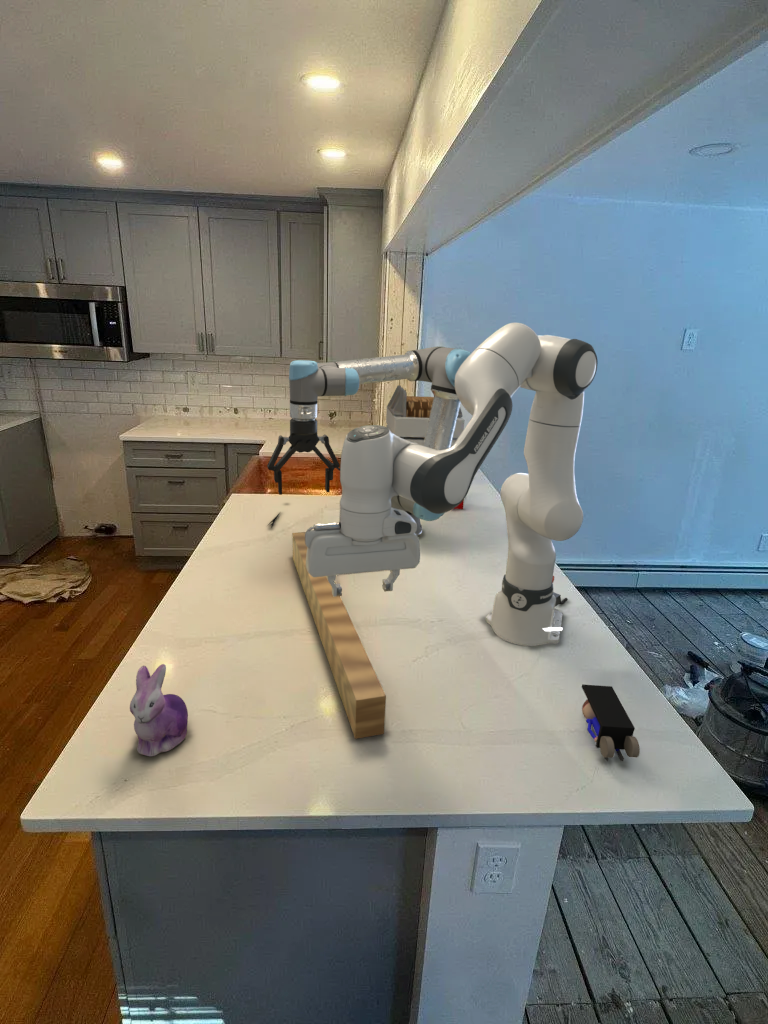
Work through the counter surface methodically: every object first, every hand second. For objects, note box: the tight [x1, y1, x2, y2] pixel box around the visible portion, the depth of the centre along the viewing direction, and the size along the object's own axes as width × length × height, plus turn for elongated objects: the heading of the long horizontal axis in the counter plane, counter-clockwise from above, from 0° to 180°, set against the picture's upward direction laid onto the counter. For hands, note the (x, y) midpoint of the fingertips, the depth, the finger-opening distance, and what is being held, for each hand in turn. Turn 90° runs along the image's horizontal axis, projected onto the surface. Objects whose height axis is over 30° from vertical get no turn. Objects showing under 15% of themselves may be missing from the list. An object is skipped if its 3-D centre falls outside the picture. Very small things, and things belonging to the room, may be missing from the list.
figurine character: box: [581, 684, 641, 762], centre depth 105 cm, size 7×8×15 cm
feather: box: [266, 512, 281, 529], centre depth 211 cm, size 2×28×2 cm
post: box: [291, 531, 387, 740], centre depth 140 cm, size 81×6×9 cm, turn 17°
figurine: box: [129, 663, 189, 757], centre depth 99 cm, size 9×10×15 cm
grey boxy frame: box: [385, 384, 465, 447], centre depth 268 cm, size 34×33×41 cm
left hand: (304, 492), depth 163 cm, fingers open, 13 cm apart
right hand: (362, 592), depth 102 cm, fingers open, 8 cm apart
